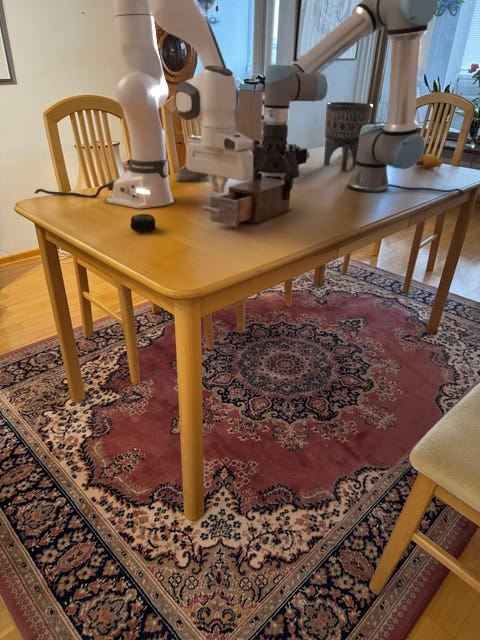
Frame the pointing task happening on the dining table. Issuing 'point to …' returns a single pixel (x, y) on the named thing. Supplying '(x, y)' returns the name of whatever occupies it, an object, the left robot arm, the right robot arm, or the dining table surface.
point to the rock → (189, 175)
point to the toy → (429, 161)
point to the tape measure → (142, 222)
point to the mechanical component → (274, 165)
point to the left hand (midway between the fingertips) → (218, 192)
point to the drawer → (231, 208)
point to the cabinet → (264, 197)
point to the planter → (345, 128)
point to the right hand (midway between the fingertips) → (271, 196)
